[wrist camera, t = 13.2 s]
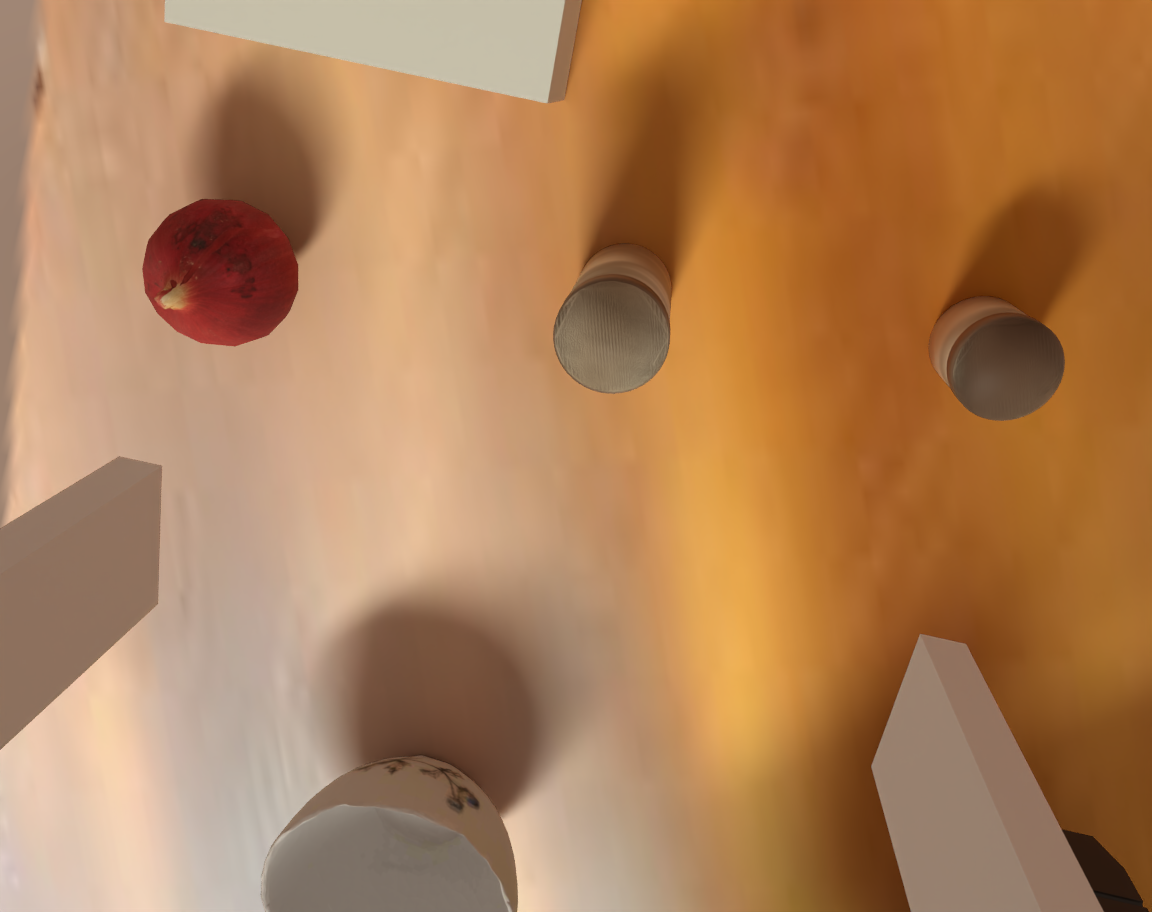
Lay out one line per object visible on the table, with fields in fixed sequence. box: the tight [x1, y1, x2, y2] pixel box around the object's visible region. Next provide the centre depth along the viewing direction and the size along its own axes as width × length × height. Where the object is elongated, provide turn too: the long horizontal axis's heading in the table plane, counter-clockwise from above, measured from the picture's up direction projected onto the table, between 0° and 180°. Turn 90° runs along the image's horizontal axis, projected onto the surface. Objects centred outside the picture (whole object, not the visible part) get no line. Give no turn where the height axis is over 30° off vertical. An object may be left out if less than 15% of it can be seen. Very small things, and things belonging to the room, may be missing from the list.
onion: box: [142, 199, 298, 346], centre depth 38 cm, size 6×6×8 cm
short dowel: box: [929, 296, 1065, 421], centre depth 38 cm, size 4×4×4 cm
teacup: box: [261, 755, 518, 912], centre depth 49 cm, size 15×12×8 cm
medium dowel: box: [553, 243, 672, 394], centre depth 37 cm, size 4×4×8 cm
